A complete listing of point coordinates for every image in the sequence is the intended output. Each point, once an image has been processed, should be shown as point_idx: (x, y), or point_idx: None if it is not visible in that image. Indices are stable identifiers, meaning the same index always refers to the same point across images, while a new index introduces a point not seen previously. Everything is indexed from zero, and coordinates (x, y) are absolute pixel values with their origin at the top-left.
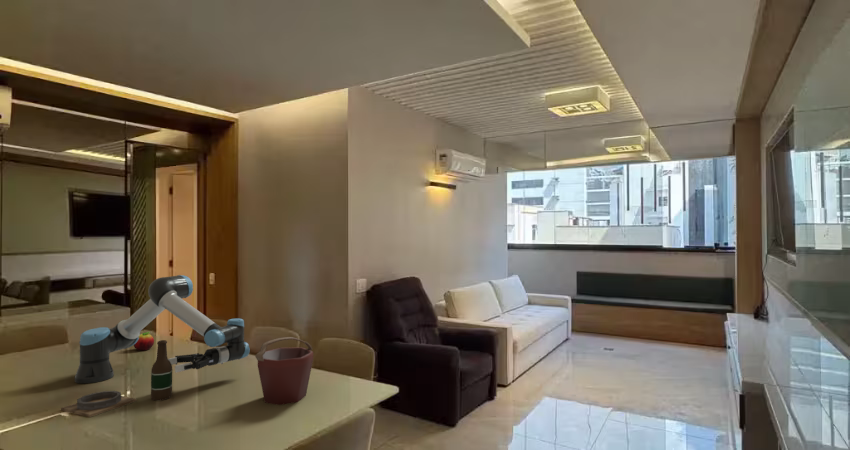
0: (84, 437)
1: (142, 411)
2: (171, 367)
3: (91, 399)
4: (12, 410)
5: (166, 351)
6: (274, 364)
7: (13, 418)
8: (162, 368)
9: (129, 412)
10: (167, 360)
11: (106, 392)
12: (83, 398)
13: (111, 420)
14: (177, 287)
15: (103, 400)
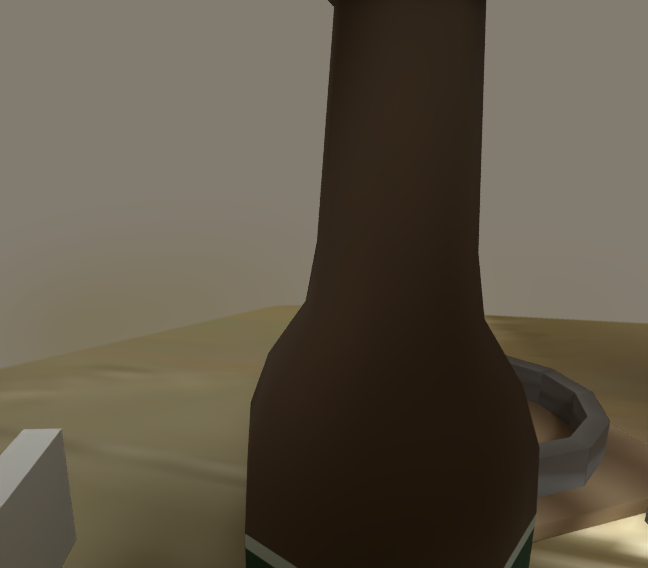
0: (96, 362)
1: (138, 534)
2: (324, 528)
3: (560, 412)
4: (601, 325)
5: (367, 168)
6: None
7: (500, 320)
8: (256, 391)
9: (207, 489)
10: (329, 346)
11: (580, 425)
12: (520, 370)
13: (175, 425)
14: None
15: None
